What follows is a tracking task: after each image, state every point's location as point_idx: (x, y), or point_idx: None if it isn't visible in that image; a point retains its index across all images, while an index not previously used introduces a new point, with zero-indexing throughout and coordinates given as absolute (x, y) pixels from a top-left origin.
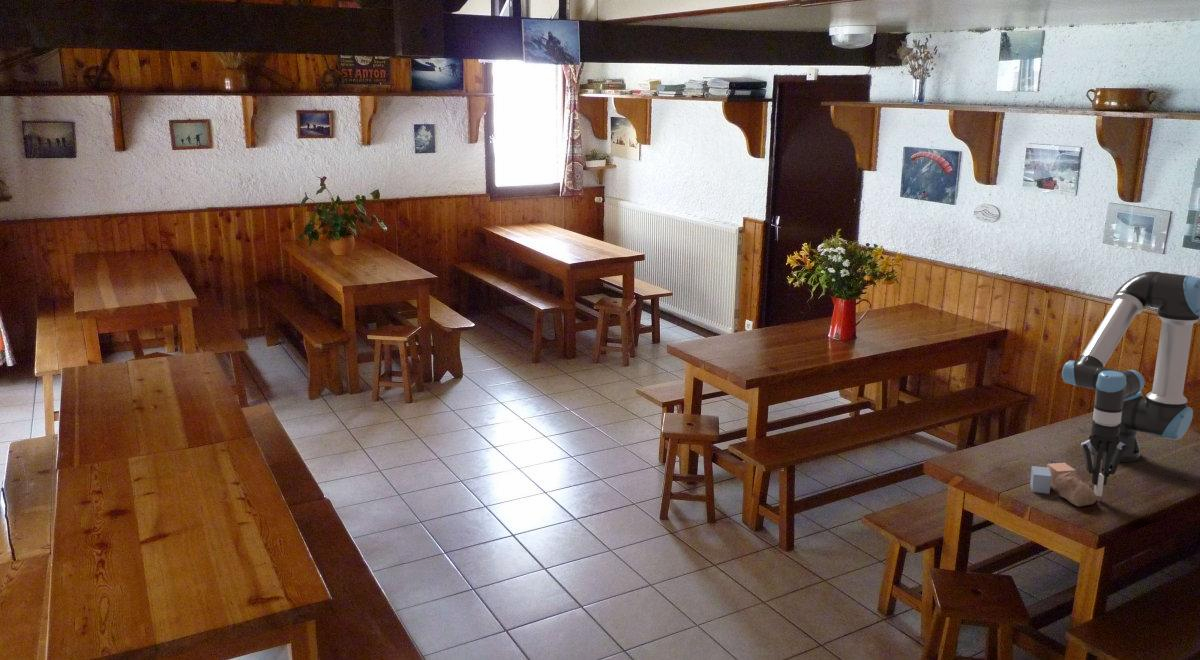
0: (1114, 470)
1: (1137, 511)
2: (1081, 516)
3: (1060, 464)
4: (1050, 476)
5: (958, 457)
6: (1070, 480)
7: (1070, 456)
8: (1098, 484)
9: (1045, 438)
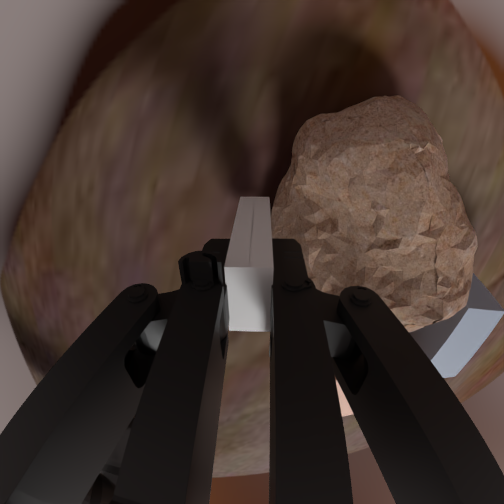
0: (115, 311)
1: (104, 107)
2: (398, 26)
3: (348, 409)
4: (470, 307)
5: (462, 397)
6: (472, 229)
7: (234, 440)
8: (267, 229)
9: (256, 466)
